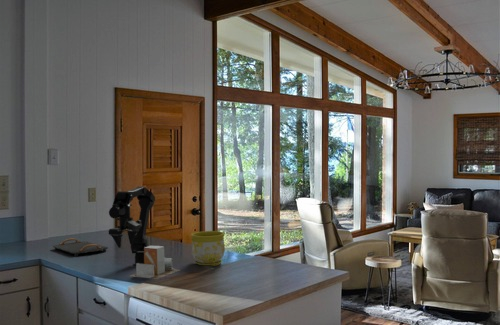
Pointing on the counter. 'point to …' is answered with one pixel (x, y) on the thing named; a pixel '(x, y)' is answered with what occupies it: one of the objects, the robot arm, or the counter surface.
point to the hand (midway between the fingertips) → (125, 246)
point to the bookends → (151, 268)
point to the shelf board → (160, 274)
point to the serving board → (79, 247)
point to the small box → (155, 258)
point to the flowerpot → (208, 247)
